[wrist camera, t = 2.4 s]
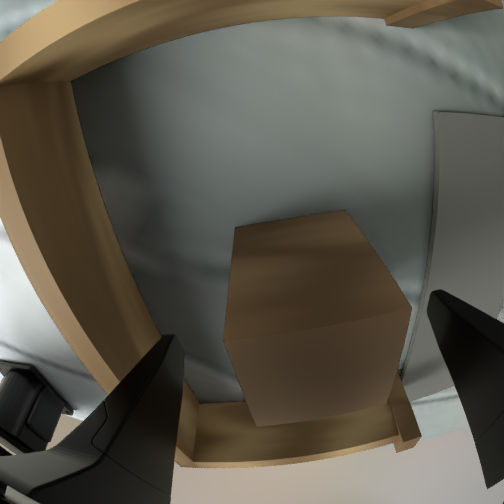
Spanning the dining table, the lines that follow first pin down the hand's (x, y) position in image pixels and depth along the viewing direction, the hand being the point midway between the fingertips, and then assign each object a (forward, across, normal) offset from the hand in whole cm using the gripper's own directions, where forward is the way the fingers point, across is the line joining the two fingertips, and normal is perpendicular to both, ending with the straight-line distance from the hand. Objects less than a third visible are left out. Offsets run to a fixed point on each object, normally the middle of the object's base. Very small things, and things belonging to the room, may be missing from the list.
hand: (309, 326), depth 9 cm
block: (+4, 0, 0) cm, 4 cm away
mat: (+4, -10, +4) cm, 11 cm away
